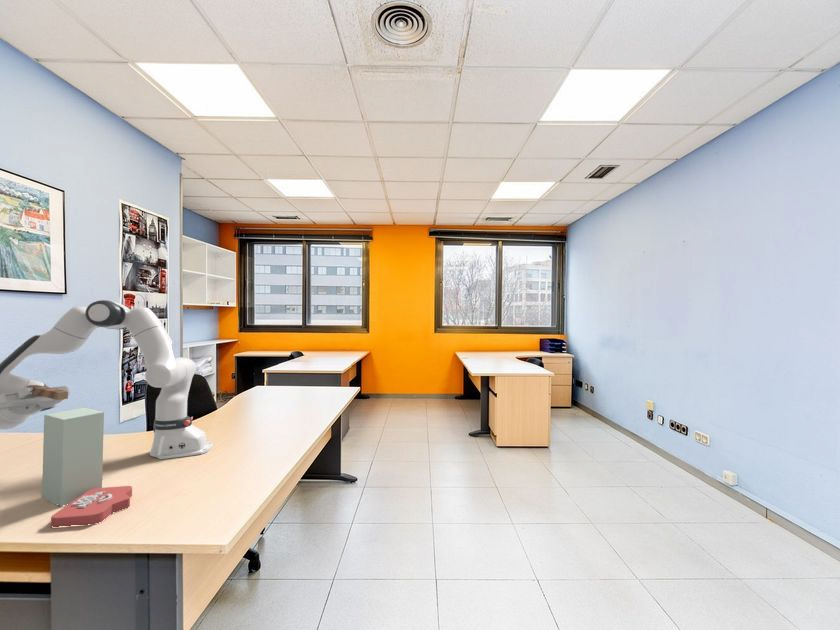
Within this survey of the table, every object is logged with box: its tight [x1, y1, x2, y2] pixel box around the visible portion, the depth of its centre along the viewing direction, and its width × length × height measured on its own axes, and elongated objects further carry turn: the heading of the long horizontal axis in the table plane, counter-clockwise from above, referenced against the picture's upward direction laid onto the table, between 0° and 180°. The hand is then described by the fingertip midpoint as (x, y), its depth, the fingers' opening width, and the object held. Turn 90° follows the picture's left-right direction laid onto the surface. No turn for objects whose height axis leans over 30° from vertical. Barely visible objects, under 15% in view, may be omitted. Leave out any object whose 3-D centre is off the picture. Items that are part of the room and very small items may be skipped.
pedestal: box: [41, 407, 105, 507], centre depth 116 cm, size 12×10×26 cm
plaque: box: [50, 485, 133, 527], centre depth 108 cm, size 18×4×15 cm
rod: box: [27, 385, 69, 400], centre depth 124 cm, size 22×2×2 cm, turn 66°
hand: (38, 388), depth 126 cm, fingers closed on rod, 2 cm apart
